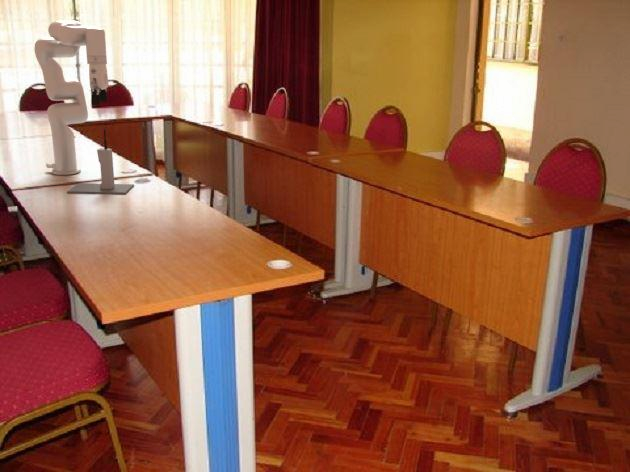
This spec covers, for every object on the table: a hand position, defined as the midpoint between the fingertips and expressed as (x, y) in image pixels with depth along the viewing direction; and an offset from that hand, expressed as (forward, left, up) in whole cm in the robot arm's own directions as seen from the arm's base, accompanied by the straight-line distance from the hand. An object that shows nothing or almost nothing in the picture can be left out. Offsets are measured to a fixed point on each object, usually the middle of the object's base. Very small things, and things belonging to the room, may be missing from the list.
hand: (99, 103), depth 273 cm
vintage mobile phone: (+1, -2, -36) cm, 36 cm away
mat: (-2, -1, -36) cm, 36 cm away
